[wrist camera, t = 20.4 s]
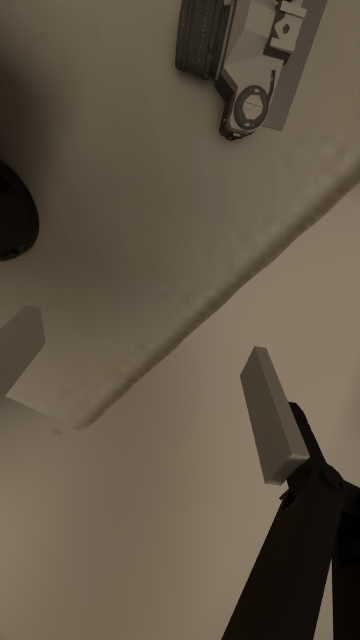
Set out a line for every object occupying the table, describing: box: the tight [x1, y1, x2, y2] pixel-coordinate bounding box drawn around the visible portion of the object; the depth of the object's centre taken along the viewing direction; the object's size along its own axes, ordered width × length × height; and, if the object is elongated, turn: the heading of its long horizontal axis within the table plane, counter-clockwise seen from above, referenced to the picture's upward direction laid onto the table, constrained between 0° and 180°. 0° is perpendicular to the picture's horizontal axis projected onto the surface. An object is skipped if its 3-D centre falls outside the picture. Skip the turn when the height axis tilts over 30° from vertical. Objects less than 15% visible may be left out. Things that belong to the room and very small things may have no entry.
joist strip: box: [262, 0, 327, 131], centre depth 25 cm, size 4×17×1 cm, turn 168°
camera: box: [175, 0, 307, 141], centre depth 22 cm, size 16×10×10 cm, turn 168°
